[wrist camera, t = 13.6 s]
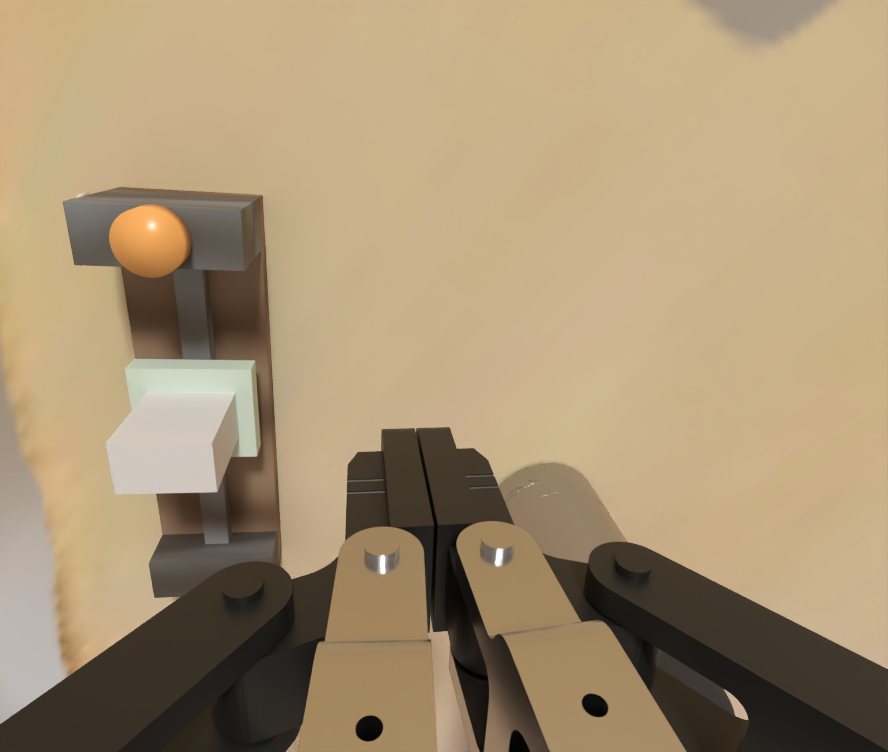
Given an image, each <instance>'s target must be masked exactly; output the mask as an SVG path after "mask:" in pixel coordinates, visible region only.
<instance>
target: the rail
mask: <svg viewBox="0 0 888 752" xmlns="http://www.w3.org/2000/svg"><path fill="white" fill-rule="evenodd" d="M147 204H155V205H160V206H164V207H166V208H169V209H171V210H172V211H174V212H175V213H176V214H178V215H179V216H180V217H181V218H182V219H183V221H184V222H185V223H186V225H187V227H188V229H189V231H190V234H191V239H192V246H191V251H190V254H189V256H188V258H187V259H186V260H185V262H184V263H182V264H181V265H180V266H179V267H177V268H176V269H175V270H174V271H172V272H171V273H169V274H167V275H165V276H162V277H156V278H149V277H143V276H139V275H137V274H134V273H132V272H131V271H129V270H128V269H126V268H125V267H124V266H123V265H122V264H120V262H119V261H118V260H117V259H116V257H115V256H114V254H113V252H112V249H111V246H110V242H109V233H110V228H111V226H112V224H113V222H114V220H115V219H116V218H117V217H118V216H119V215H120V214H122V213H123V212H125V211H127V210H130V209H133V208H136V207H138V206H142V205H147ZM63 206H64V211H65V217H66V222H67V227H68V233H69V238H70V243H71V249H72V254H73V259H74V265H90V266H117V267H121V268H122V275H123V281H124V287H125V294H126V300H127V307H128V313H129V320H130V326H131V333H132V339H133V346H134V352H135V359H186V360H255V365H256V380H257V395H258V411H259V426H260V441H261V445H260V449H259V452H258V455H257V457H231V458H230V461H229V463H228V466H227V468H226V471H225V473H224V476H223V479H222V481H221V484H220V486H219V489H218V491H217V492H205V493H157V494H156V495H157V501H158V507H159V514H160V520H161V527H162V533H163V535H162V537H161V539H160V541H159V543H158V546H157V548H156V550H155V552H154V554H153V556H152V558H151V560H150V562H149V568H150V574H151V580H152V586H153V592H154V597H155V598H160V597H181V596H183V595H185V594H186V593H187V592H189V591H190V590H192V589H193V588H195V587H196V586H197V585H199V584H200V583H202V582H203V581H205V580H206V579H207V578H209V577H210V576H212V575H213V574H215V573H216V572H218V571H220V570H222V569H224V568H226V567H229V566H232V565H234V564H239V563H243V562H250V561H261V562H268V563H272V564H275V565H278V566H279V560H280V555H281V532H280V513H279V495H278V476H277V458H276V439H275V420H274V402H273V383H272V364H271V346H270V327H269V309H268V290H267V271H266V253H265V234H264V215H263V197H262V195H250V194H232V193H214V192H196V191H179V190H161V189H143V188H125V187H118V188H114V189H110V190H106V191H102V192H98V193H94V194H91V193H79V194H78V195H77V196H76V197H75V198H74V199H70V200H66V201H63Z"/></svg>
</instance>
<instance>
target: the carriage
mask: <svg viewBox="0 0 888 752" xmlns="http://www.w3.org/2000/svg"><path fill="white" fill-rule="evenodd" d="M125 373H126V379H127V385H128V391H129V398H130V404H131V410H132V411H131V412H130V414H129V415H128V416H127V417H126V419H125V420H124V421H123V422H122V424H121V425H120V426H119V427H118V429H117V430H116V431H115V432H114V434H113V435H112V436H111V437H110V439H109V440H108V441H107V442H106V448H107V454H108V459H109V464H110V470H111V475H112V480H113V486H114V491H115V494H157V493H205V492H217V491H218V489H219V486H220V484H221V481H222V479H223V476H224V473H225V471H226V468H227V466H228V463H229V461H230V458H231V457H257V455H258V452H259V449H260V445H261V441H260V426H259V411H258V395H257V380H256V365H255V360H186V359H133V360H132V361H131V362H130V364H129V365H128V366H127V367H126V368H125Z"/></svg>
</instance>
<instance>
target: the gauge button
mask: <svg viewBox="0 0 888 752" xmlns="http://www.w3.org/2000/svg"><path fill="white" fill-rule="evenodd" d="M109 242H110V246H111V249H112V252H113V254H114V256H115V257H116V259H117V260H118V261H119V262H120V264H122V265H123V266H124V267H125V268H126V269H128V270H129V271H131V272H132V273H134V274H137V275H139V276H143V277H149V278H156V277H162V276H165V275H167V274H169V273H171V272H172V271H174V270H175V269H176V268H177V267H179V266H180V265H181V264H182V263H184V262H185V260H186V259H187V258H188V256H189V254H190V251H191V246H192V239H191V234H190V231H189V229H188V227H187V225H186V223H185V222H184V221H183V219H182V218H181V217H180V216H179V215H178V214H176V213H175V212H174V211H172V210H171V209H169V208H166V207H164V206H160V205H155V204H147V205H142V206H138V207H136V208H133V209H130V210H127V211H125V212H123V213H122V214H120V215H119V216H118V217H117V218H116V219H115V220H114V222H113V224H112V226H111V228H110V233H109Z"/></svg>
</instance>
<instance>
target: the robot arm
mask: <svg viewBox="0 0 888 752" xmlns="http://www.w3.org/2000/svg"><path fill="white" fill-rule="evenodd" d="M430 615H431V622H432V628H433V632H441V631H448V635H449V640H450V656H449V671H450V675H451V679H452V683H453V687H454V691H455V694H456V698H457V702H458V706H459V710H460V713H461V717H462V721H463V725H464V729H465V732H466V736H467V740H468V744H469V748H470V751H471V752H888V669H886V668H884V667H882V666H880V665H878V664H876V663H874V662H872V661H870V660H868V659H866V658H864V657H862V656H860V655H858V654H856V653H854V652H852V651H850V650H848V649H846V648H844V647H842V646H840V645H838V644H837V643H835V642H833V641H831V640H829V639H827V638H825V637H823V636H821V635H819V634H817V633H815V632H813V631H811V630H809V629H807V628H805V627H803V626H801V625H799V624H797V623H795V622H793V621H791V620H789V619H787V618H785V617H783V616H781V615H779V614H777V613H775V612H773V611H771V610H769V609H767V608H765V607H763V606H761V605H759V604H757V603H755V602H753V601H751V600H749V599H747V598H745V597H743V596H741V595H739V594H737V593H735V592H734V591H732V590H730V589H728V588H726V587H724V586H722V585H720V584H718V583H716V582H714V581H712V580H710V579H708V578H706V577H704V576H702V575H700V574H698V573H696V572H694V571H692V570H690V569H688V568H686V567H684V566H682V565H680V564H678V563H676V562H674V561H672V560H670V559H668V558H666V557H664V556H662V555H660V554H658V553H656V552H654V551H652V550H650V549H648V548H646V547H643V546H640V545H637V544H633V543H628V542H627V540H626V539H625V537H624V536H623V534H622V533H621V531H620V530H619V528H618V526H617V525H616V523H615V522H614V520H613V519H612V517H611V516H610V514H609V512H608V511H607V509H606V508H605V506H604V504H603V503H602V501H601V500H600V498H599V497H598V495H597V494H596V492H595V491H594V489H593V488H592V486H591V484H590V483H589V481H588V480H587V479H586V478H585V477H584V476H583V475H582V474H581V473H579V472H578V471H576V470H575V469H573V468H570V467H567V466H565V465H559V464H539V465H535V466H531V467H527V468H525V469H523V470H520V471H518V472H516V473H515V474H513V475H512V476H510V477H509V478H507V479H506V480H505V481H504V482H503V483H502V484H501V485H500V486H499V487H498V484H497V481H496V479H495V476H493V472H492V469H491V467H490V464H489V462H488V460H487V459H486V458H485V457H483V456H482V455H481V454H480V453H479V452H477V451H476V450H475V449H474V448H468V449H456V445H455V442H454V439H453V436H452V433H451V430H450V428H449V427H444V428H417V429H416V432H415V429H414V428H409V429H382V434H381V451H376V452H358V453H357V454H356V455H355V457H354V458H353V459H352V460H351V462H350V463H349V464H348V475H347V506H346V536H345V542H344V543H343V545H342V546H341V548H340V552H339V556H338V557H337V558H336V559H335V560H334V561H333V562H332V563H330V564H329V565H327V566H326V567H324V568H323V569H320V570H318V571H316V572H314V573H311V574H308V575H305V576H301V577H298V578H295V579H291V577H290V576H289V574H288V573H287V572H286V571H285V570H284V569H283V568H281V567H280V566H278V565H275V564H272V563H268V562H261V561H250V562H243V563H239V564H234V565H232V566H229V567H226V568H224V569H222V570H220V571H218V572H216V573H215V574H213V575H212V576H210V577H209V578H207V579H206V580H205V581H203V582H202V583H200V584H199V585H197V586H196V587H195V588H193V589H192V590H190V591H189V592H187V593H186V594H185V595H183V596H182V597H180V598H179V599H178V600H176V601H175V602H173V603H172V604H170V605H169V606H168V607H166V608H165V609H163V610H162V611H160V612H159V613H158V614H156V615H155V616H153V617H152V618H151V619H149V620H148V621H146V622H145V623H143V624H142V625H141V626H139V627H138V628H136V629H135V630H134V631H132V632H131V633H129V634H128V635H126V636H125V637H124V638H122V639H121V640H119V641H118V642H116V643H115V644H114V645H112V646H111V647H109V648H108V649H107V650H105V651H104V652H102V653H101V654H99V655H98V656H97V657H95V658H94V659H92V660H91V661H89V662H88V663H87V664H85V665H84V666H82V667H81V668H80V669H78V670H77V671H75V672H74V673H72V674H71V675H70V676H68V677H67V678H65V679H64V680H62V681H61V682H60V683H58V684H57V685H55V686H54V687H53V688H51V689H50V690H48V691H47V692H45V693H44V694H43V695H41V696H40V697H38V698H37V699H35V700H34V701H33V702H31V703H30V704H29V705H27V706H26V707H24V708H23V709H21V710H20V711H18V712H17V713H16V714H14V715H13V716H11V717H10V718H9V719H7V720H6V721H4V722H3V723H1V724H0V752H285V751H286V750H287V749H288V748H289V747H290V746H291V744H292V743H293V742H294V740H295V739H296V737H297V735H298V733H299V730H300V727H301V725H302V724H303V725H302V730H301V736H300V742H299V747H298V752H437V736H436V717H435V699H434V680H433V662H432V646H431V640H430V639H428V633H429V631H430ZM724 689H725V690H727V691H728V692H729V693H731V694H732V695H733V696H734V697H736V698H737V699H738V701H739V702H740V703H741V704H742V706H743V707H744V709H745V710H746V713H747V715H748V719H749V720H744V719H740V718H738V717H736V716H735V714H734V710H733V707H732V704H731V702H730V700H729V698H728V696H727V694H726V693H725V691H724Z"/></svg>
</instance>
